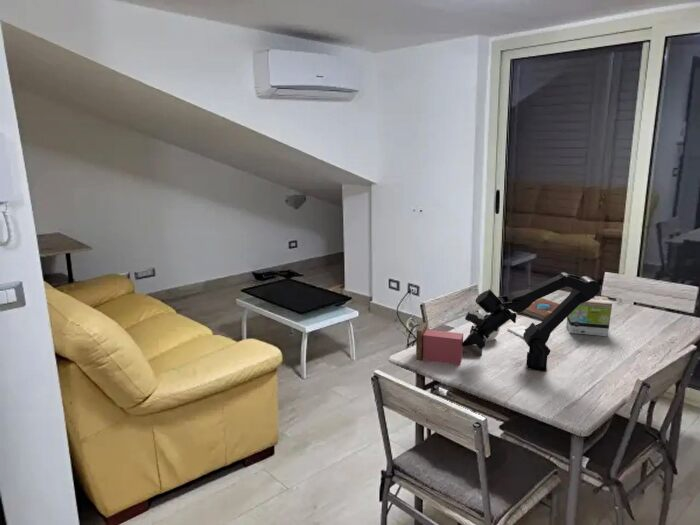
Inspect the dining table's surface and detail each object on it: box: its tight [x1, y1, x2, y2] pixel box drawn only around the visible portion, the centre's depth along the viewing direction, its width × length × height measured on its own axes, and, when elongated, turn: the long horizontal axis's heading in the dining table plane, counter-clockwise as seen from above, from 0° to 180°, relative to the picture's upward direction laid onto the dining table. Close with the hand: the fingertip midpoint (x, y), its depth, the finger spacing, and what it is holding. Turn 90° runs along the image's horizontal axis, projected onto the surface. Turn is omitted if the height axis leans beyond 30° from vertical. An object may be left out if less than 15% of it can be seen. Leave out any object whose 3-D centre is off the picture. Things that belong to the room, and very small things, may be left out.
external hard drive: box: [507, 325, 528, 339], centre depth 218 cm, size 2×8×12 cm
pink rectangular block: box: [422, 329, 464, 366], centre depth 194 cm, size 14×6×10 cm, turn 70°
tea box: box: [565, 295, 613, 337], centre depth 219 cm, size 15×10×15 cm
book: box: [520, 297, 561, 321], centre depth 246 cm, size 16×25×5 cm, turn 127°
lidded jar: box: [473, 323, 501, 342], centre depth 213 cm, size 11×11×9 cm
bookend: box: [415, 322, 483, 362], centre depth 195 cm, size 23×13×12 cm, turn 71°
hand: (462, 345), depth 191 cm, fingers closed, pressing on pink rectangular block
